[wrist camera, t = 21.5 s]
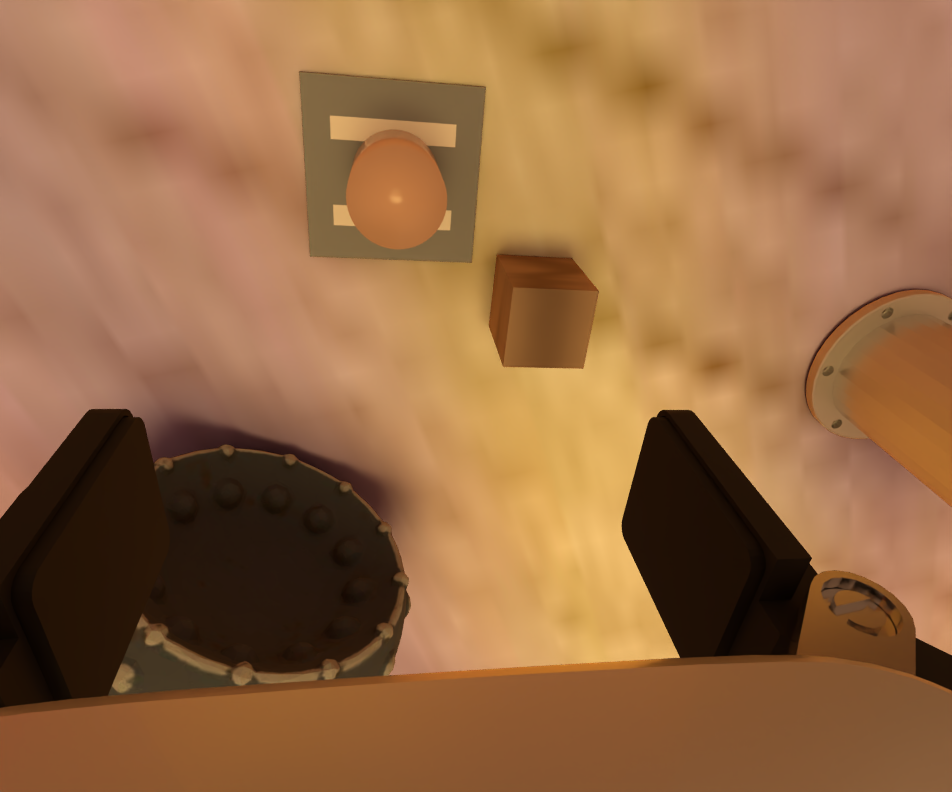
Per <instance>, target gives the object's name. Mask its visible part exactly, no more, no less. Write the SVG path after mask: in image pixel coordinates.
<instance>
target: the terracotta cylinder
mask: <svg viewBox="0 0 952 792" xmlns="http://www.w3.org/2000/svg"><path fill="white" fill-rule="evenodd" d="M346 203H347V208H348V212H349V215H350V217H351V219H352V221H353V223H354V225H355V226H356V228H357V229H358V230H359V231H360V233H361V234H362V235H364V236H365V237H366V238H367V239H368V240H370V241H371V242H373V243H375V244H377V245H379V246H382V247H385V248H389V249H408V248H412V247H415V246H417V245H420V244H422V243H423V242H425V241H427V240H428V239H429V238H430V237H432V235H433V234H434V233H435V232H436V231H437V230H438V228H439V227H440V225H441V223H442V221H443V219H444V216H445V213H446V208H447V191H446V187H445V183H444V180H443V178H442V175H441V173H440V170H439V168H438V165H437V163H436V160H435V158H434V155H433V154H432V152H431V150H430V149H429V147H428V146H427V145H426V144H425V143H424V142H423V141H422V140H421V139H420V138H418V137H417V136H415V135H414V134H411V133H409V132H406V131H403V130H397V129H390V130H384V131H380V132H378V133H375V134H373V135H372V136H370V137H369V138H367V139H366V140H365V141H364V142H363V143H362V144H361V146H360V147H359V149H358V150H357V152H356V154H355V157H354V160H353V164H352V168H351V171H350V175H349V179H348V183H347V189H346Z"/></svg>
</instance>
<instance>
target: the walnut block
mask: <svg viewBox="0 0 952 792" xmlns="http://www.w3.org/2000/svg"><path fill="white" fill-rule="evenodd" d="M598 293H599V291H598V289H597V288H596V287H595V286H594V285H593V283H592V282H591V281H590V280H589V278H588V277H587V276H586V275H585V274H584V272H583V271H582V270H581V269H580V268H579V266H578V265H577V264H576V263H575V261H574V260H573V259H572V258H556V257H537V256H517V255H497V258H496V267H495V276H494V285H493V294H492V303H491V312H490V321H489V328H490V330H491V333H492V336H493V339H494V342H495V345H496V348H497V351H498V353H499V356H500V359H501V362H502V365H503V367H537V368H582V369H583V367H584V362H585V357H586V353H587V348H588V343H589V338H590V333H591V328H592V323H593V318H594V313H595V308H596V303H597V298H598Z"/></svg>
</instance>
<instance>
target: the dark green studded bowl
mask: <svg viewBox="0 0 952 792" xmlns="http://www.w3.org/2000/svg"><path fill="white" fill-rule="evenodd" d="M154 468H155V472H156V476H157V480H158V485H159V489H160V493H161V498H162V502H163V506H164V510H165V515H166V519H167V523H168V528H169V533H170V545H169V550H168V553H167V556H166V558H165V560H164V563H163V565H162V568H161V570H160V572H159V575H158V577H157V580H156V582H155V584H154V587H153V589H152V591H151V594H150V596H149V599H148V601H147V603H146V606H145V608H144V611H143V613H142V615H141V618H140V620H139V622H138V625H137V627H136V630H135V632H134V634H133V637H132V639H131V642H130V644H129V646H128V649H127V651H126V654H125V656H124V658H123V661H122V663H121V665H120V668H119V670H118V673H117V675H116V677H115V680H114V682H113V685H112V687H111V689H110V692H109V694H108V696H113V695H125V694H137V693H149V692H161V691H172V690H185V689H199V688H213V687H228V686H242V685H257V684H271V683H285V682H300V681H314V680H329V679H343V678H358V677H374V676H388V675H389V674H390V673H391V671H392V670H393V668H394V664H395V655H396V653H397V649H398V646H399V642H400V639H401V635H402V629H403V624H404V619H405V617H406V616H407V614H408V613H409V610H410V607H411V602H410V597H409V595H408V593H407V591H406V588H407V586H408V581H409V578H408V577H407V576H406V574H405V573H404V568H403V564H402V559H401V556H400V553H399V550H398V547H397V545H396V543H395V541H394V539H393V537H392V532H391V526H390V525H389V524H388V523H386V522H383V521H382V520H381V518H380V517H379V516H378V515H377V514H376V512H375V511H374V510H373V509H372V507H371V506H370V505H369V504H368V503H367V502H365V501H364V500H363V499H362V498H361V497H360V496H359V495H358V494H357V493H356V492H355V491H354V490H353V488H352V486H351V484H350V483H348V482H346V481H339V480H338V479H336V478H334V477H333V476H331V475H329V474H327V473H325V472H323V471H321V470H319V469H317V468H315V467H313V466H311V465H309V464H306V463H304V462H302V461H300V460H298V459H297V458H296V457H295V456H294V455H293V454H287V455H280V454H275V453H270V452H266V451H261V450H251V449H239V448H234V447H233V446H231V445H226V444H225V445H222V446H220V447H218V448H215V449H207V450H199V451H194V452H191V453H187V454H183V455H180V456H176V457H172V458H166V457H163V458H159V459H158V460H156V461H155V463H154Z"/></svg>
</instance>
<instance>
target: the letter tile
mask: <svg viewBox="0 0 952 792" xmlns="http://www.w3.org/2000/svg"><path fill="white" fill-rule="evenodd" d="M299 76H300V93H301V110H302V127H303V145H304V162H305V179H306V196H307V213H308V230H309V248H310V256H311V257H337V258H363V259H389V260H414V261H440V262H466V263H472V252H473V240H474V227H475V215H476V202H477V190H478V177H479V165H480V152H481V140H482V127H483V115H484V102H485V90H486V87H479V86H467V85H455V84H443V83H431V82H419V81H407V80H395V79H383V78H371V77H359V76H347V75H335V74H323V73H311V72H299ZM390 129H397V130H403V131H406V132H409V133H411V134H414V135H415V136H417V137H418V138H420V139H421V140H422V141H423V142H424V143H425V144H426V145H427V146H428V147H429V149H430V150H431V152H432V154H433V155H434V158H435V160H436V163H437V165H438V168H439V170H440V173H441V175H442V178H443V180H444V183H445V187H446V191H447V208H446V213H445V216H444V219H443V221H442V223H441V225H440V227H439V228H438V230H437V231H436V232H435V233H434V234H433V235H432V237H430V238H429V239H428V240H427V241H425V242H423V243H422V244H420V245H417V246H415V247H412V248H408V249H389V248H385V247H382V246H379V245H377V244H375V243H373V242H371V241H370V240H368V239H367V238H366V237H365V236H364V235H362V234H361V233H360V231H359V230H358V229H357V228H356V226H355V225H354V223H353V221H352V219H351V217H350V215H349V212H348V208H347V203H346V189H347V183H348V179H349V175H350V171H351V168H352V164H353V160H354V157H355V154H356V152H357V150H358V149H359V147H360V146H361V144H362V143H363V142H364V141H365V140H366V139H367V138H369V137H370V136H372V135H373V134H375V133H378V132H380V131H384V130H390Z"/></svg>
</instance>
